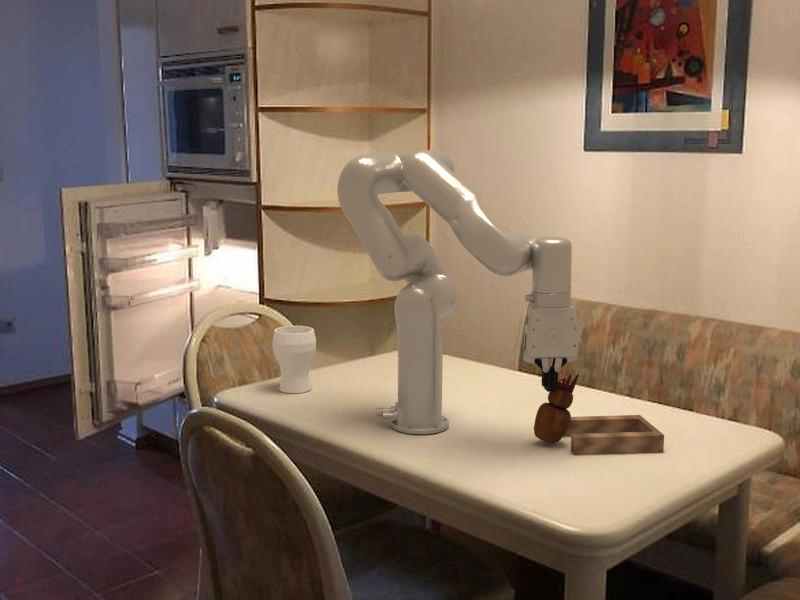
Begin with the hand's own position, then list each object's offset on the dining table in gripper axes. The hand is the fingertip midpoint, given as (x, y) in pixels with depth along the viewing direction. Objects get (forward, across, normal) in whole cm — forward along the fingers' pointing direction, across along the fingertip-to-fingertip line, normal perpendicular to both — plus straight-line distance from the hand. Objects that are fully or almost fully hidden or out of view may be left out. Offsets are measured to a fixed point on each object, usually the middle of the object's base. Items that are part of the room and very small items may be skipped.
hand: (549, 389), depth 182 cm
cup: (+11, -52, +45) cm, 70 cm away
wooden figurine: (+11, -1, 0) cm, 11 cm away
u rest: (+12, +12, 0) cm, 17 cm away
